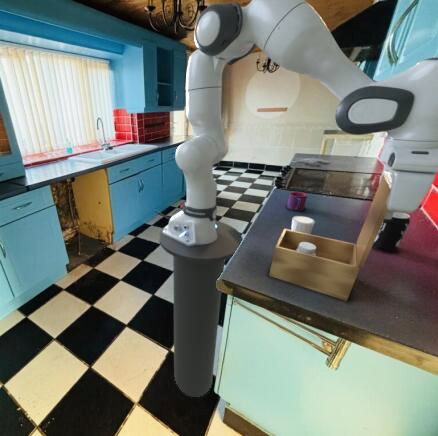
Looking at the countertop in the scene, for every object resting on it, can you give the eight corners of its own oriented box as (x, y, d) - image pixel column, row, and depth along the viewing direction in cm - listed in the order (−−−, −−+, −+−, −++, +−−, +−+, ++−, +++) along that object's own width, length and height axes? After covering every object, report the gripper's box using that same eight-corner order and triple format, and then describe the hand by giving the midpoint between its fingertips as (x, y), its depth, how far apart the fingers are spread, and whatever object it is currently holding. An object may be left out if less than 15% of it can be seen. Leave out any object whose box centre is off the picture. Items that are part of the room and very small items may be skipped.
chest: (269, 275, 68) (275, 246, 64) (278, 255, 77) (284, 228, 73) (346, 301, 58) (359, 268, 54) (346, 274, 67) (358, 244, 63)
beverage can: (389, 254, 74) (405, 220, 69) (365, 245, 79) (377, 212, 74) (400, 249, 76) (416, 215, 71) (376, 240, 82) (389, 208, 77)
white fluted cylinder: (314, 240, 84) (320, 222, 81) (296, 242, 83) (300, 224, 80) (302, 231, 90) (306, 214, 87) (284, 233, 90) (288, 216, 87)
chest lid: (390, 189, 46) (396, 189, 45) (383, 174, 55) (388, 174, 54) (358, 266, 54) (363, 267, 53) (356, 242, 63) (360, 243, 62)
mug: (303, 206, 111) (306, 192, 108) (304, 214, 103) (307, 199, 100) (287, 204, 114) (290, 191, 111) (286, 212, 106) (289, 198, 103)
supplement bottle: (288, 265, 71) (294, 241, 67) (305, 265, 70) (311, 240, 67) (296, 275, 66) (303, 250, 63) (314, 275, 66) (321, 250, 62)
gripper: (383, 145, 56) (364, 199, 62) (396, 162, 42) (369, 231, 47) (422, 146, 52) (397, 204, 58) (450, 165, 38) (414, 239, 44)
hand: (384, 216), depth 53 cm, fingers closed, pressing on chest lid
